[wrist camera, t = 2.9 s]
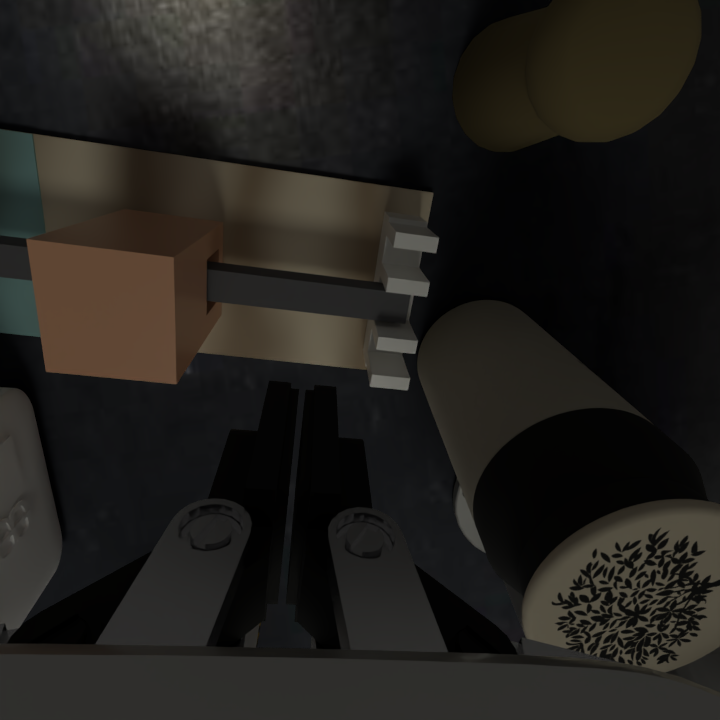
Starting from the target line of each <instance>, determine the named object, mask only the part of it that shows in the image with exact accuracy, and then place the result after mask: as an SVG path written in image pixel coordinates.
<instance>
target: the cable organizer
mask: <svg viewBox="0 0 720 720" xmlns="http://www.w3.org/2000/svg"><path fill="white" fill-rule="evenodd" d="M61 551H62V534H61V529H60V524H59V520H58V515H57V511H56V507H55V502H54V498H53V493H52V489H51V485H50V480H49V476H48V471H47V467H46V462H45V458H44V454H43V449H42V445H41V440H40V436H39V432H38V427H37V423H36V418H35V414H34V410H33V406H32V404H31V402H30V400H29V398H28V396H27V395H26V394H25V393H24V392H23V391H22V390H20V389H18V388H6V387H0V624H4V623H5V625H6V629H7V630H12V629H18V628H19V627H20V626H21V624H22V623H23V621H24V620H25V618H26V616H27V615H28V613H29V612H30V610H31V609H32V607H33V606H34V604H35V603H36V601H37V599H38V598H39V596H40V595H41V593H42V592H43V590H44V589H45V587H46V586H47V584H48V582H49V581H50V579H51V578H52V576H53V575H54V573H55V571H56V569H57V567H58V564H59V561H60V557H61Z"/></svg>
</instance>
